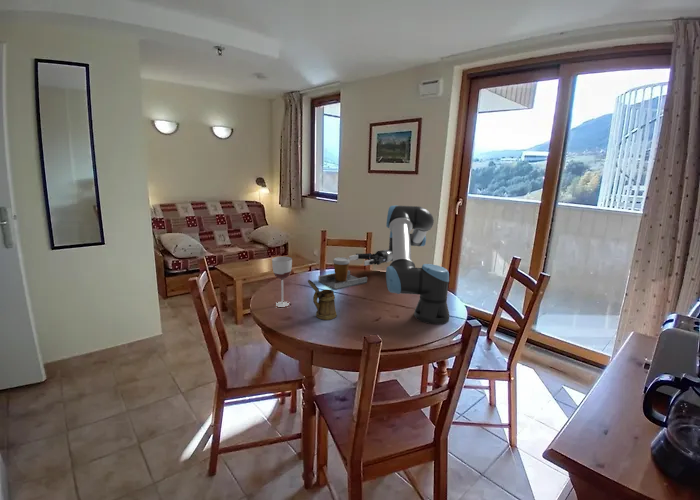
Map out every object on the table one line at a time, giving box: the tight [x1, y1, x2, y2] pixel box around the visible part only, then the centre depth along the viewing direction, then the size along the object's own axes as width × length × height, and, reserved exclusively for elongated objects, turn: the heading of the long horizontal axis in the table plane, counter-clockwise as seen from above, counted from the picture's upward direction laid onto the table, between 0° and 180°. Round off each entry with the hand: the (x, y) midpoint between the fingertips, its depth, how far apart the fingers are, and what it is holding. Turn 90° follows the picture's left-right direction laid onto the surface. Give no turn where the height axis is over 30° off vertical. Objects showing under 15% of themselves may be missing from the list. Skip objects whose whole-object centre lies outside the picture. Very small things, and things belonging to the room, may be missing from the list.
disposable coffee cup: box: [332, 256, 351, 281], centre depth 206 cm, size 10×10×12 cm
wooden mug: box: [307, 279, 338, 321], centre depth 155 cm, size 9×14×18 cm, turn 124°
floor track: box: [317, 270, 368, 291], centre depth 204 cm, size 22×16×3 cm
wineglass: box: [271, 256, 293, 307], centre depth 167 cm, size 9×10×22 cm
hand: (356, 260), depth 208 cm, fingers open, 13 cm apart
